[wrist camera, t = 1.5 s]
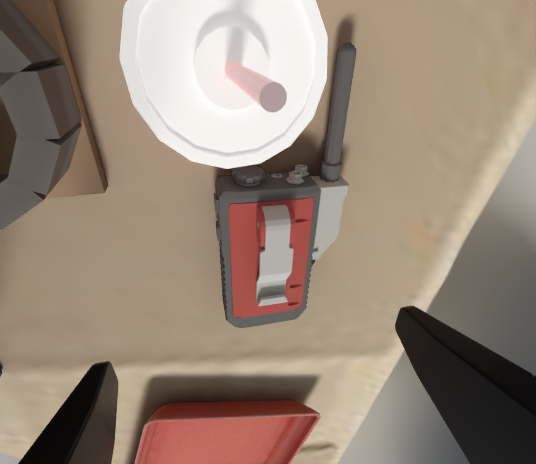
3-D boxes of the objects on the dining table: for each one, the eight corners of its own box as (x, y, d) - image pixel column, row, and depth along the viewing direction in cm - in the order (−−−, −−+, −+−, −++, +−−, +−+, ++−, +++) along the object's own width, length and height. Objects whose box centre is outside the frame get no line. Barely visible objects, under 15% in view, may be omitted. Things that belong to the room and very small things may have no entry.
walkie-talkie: (317, 298, 29) (355, 43, 19) (337, 335, 25) (398, 45, 15) (221, 312, 27) (202, 38, 17) (227, 355, 23) (209, 39, 13)
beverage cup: (284, 28, 17) (509, 13, 5) (235, 133, 19) (319, 280, 8) (172, -51, 14) (146, -400, 3) (130, 81, 17) (19, 188, 5)
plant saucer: (147, 388, 30) (144, 424, 27) (313, 387, 36) (324, 415, 34) (124, 483, 38) (119, 518, 35) (263, 468, 44) (269, 497, 42)
